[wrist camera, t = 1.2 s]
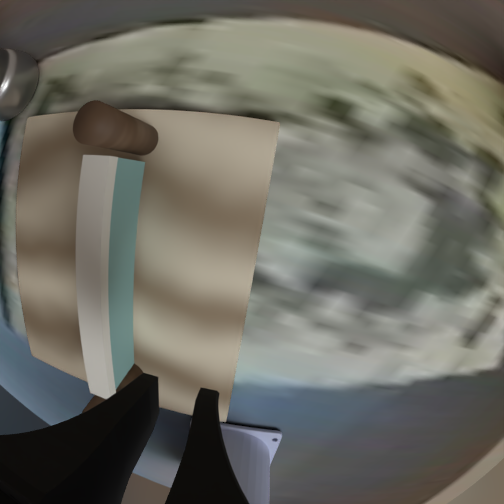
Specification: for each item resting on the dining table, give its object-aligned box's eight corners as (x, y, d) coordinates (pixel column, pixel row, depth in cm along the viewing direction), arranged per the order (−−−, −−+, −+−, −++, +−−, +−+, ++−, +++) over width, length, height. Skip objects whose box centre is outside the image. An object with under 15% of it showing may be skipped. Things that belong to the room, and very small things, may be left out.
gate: (136, 363, 18) (111, 401, 14) (118, 357, 18) (90, 392, 14) (148, 162, 15) (109, 155, 11) (125, 160, 15) (83, 154, 11)
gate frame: (227, 414, 21) (215, 479, 14) (37, 351, 21) (-3, 385, 14) (279, 126, 16) (287, 87, 9) (35, 118, 16) (-25, 108, 9)
